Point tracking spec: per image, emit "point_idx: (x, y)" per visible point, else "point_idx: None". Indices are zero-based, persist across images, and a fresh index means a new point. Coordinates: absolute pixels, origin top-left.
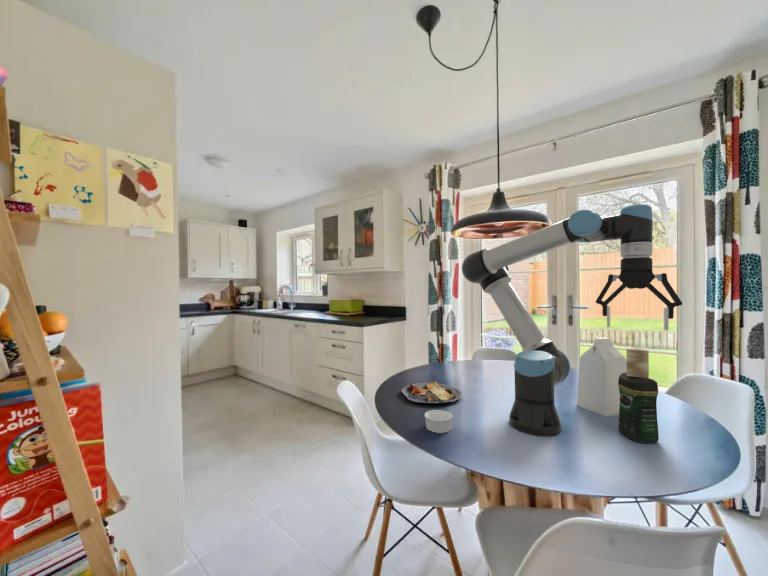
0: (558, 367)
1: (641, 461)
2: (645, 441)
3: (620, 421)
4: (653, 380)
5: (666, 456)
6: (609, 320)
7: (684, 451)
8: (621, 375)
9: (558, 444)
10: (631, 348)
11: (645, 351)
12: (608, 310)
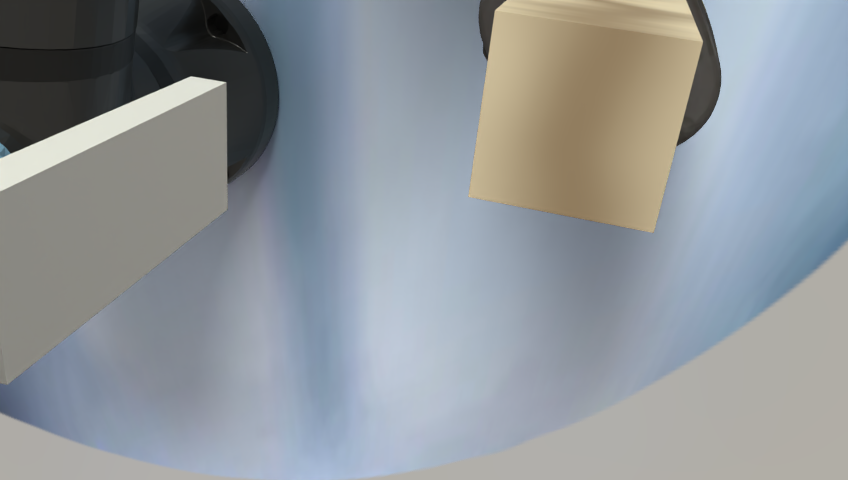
0: (71, 64)
1: (556, 262)
2: None
3: None
4: (681, 142)
5: (670, 179)
6: (168, 248)
7: (777, 90)
8: (493, 17)
9: (284, 233)
10: (519, 146)
11: (627, 223)
12: (46, 331)
